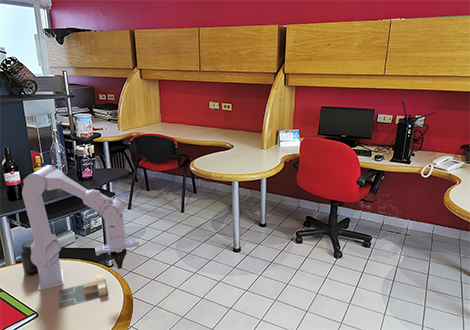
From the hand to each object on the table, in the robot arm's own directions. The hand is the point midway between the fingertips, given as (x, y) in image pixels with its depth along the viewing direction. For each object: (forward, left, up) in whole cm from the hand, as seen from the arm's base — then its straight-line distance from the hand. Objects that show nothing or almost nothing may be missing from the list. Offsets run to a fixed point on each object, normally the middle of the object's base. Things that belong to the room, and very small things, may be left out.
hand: (119, 267), depth 125 cm
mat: (0, -13, -7) cm, 15 cm away
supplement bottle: (-22, -29, -7) cm, 37 cm away
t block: (0, -9, -7) cm, 11 cm away
